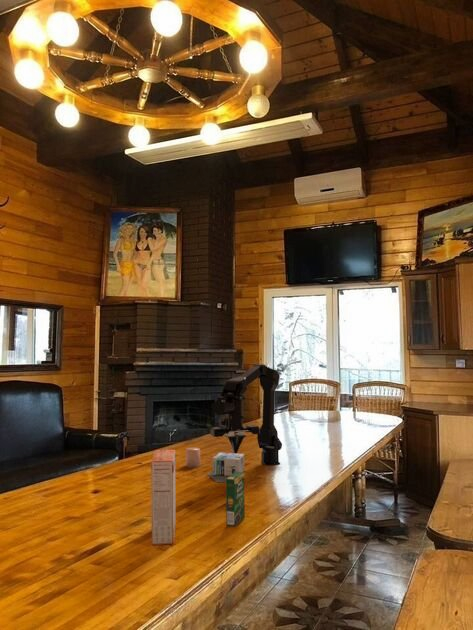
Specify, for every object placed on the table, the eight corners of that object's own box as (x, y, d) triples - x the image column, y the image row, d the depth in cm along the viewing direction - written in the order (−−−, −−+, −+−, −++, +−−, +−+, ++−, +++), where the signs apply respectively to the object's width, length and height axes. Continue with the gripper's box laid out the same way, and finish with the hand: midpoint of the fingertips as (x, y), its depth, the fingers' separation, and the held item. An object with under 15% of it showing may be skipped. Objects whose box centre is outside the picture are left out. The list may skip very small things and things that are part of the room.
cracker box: (154, 525, 136) (154, 449, 137) (176, 524, 136) (176, 448, 138) (149, 545, 122) (150, 460, 123) (173, 545, 122) (174, 460, 124)
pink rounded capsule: (197, 463, 209) (197, 447, 209) (201, 466, 203) (201, 449, 203) (184, 464, 206) (184, 448, 207) (187, 468, 201) (187, 450, 201)
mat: (233, 471, 194) (233, 470, 194) (245, 479, 182) (245, 479, 182) (206, 474, 191) (206, 473, 191) (217, 482, 179) (217, 481, 179)
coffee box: (235, 527, 134) (234, 479, 135) (225, 526, 135) (225, 478, 136) (245, 518, 141) (245, 472, 142) (236, 517, 142) (235, 471, 143)
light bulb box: (239, 459, 186) (212, 457, 188) (239, 477, 185) (211, 475, 187) (244, 453, 196) (218, 451, 198) (244, 470, 196) (218, 468, 198)
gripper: (249, 409, 200) (250, 447, 199) (206, 411, 194) (206, 451, 193) (260, 412, 190) (260, 453, 189) (214, 414, 183) (214, 456, 182)
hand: (235, 453), depth 188 cm, fingers closed
